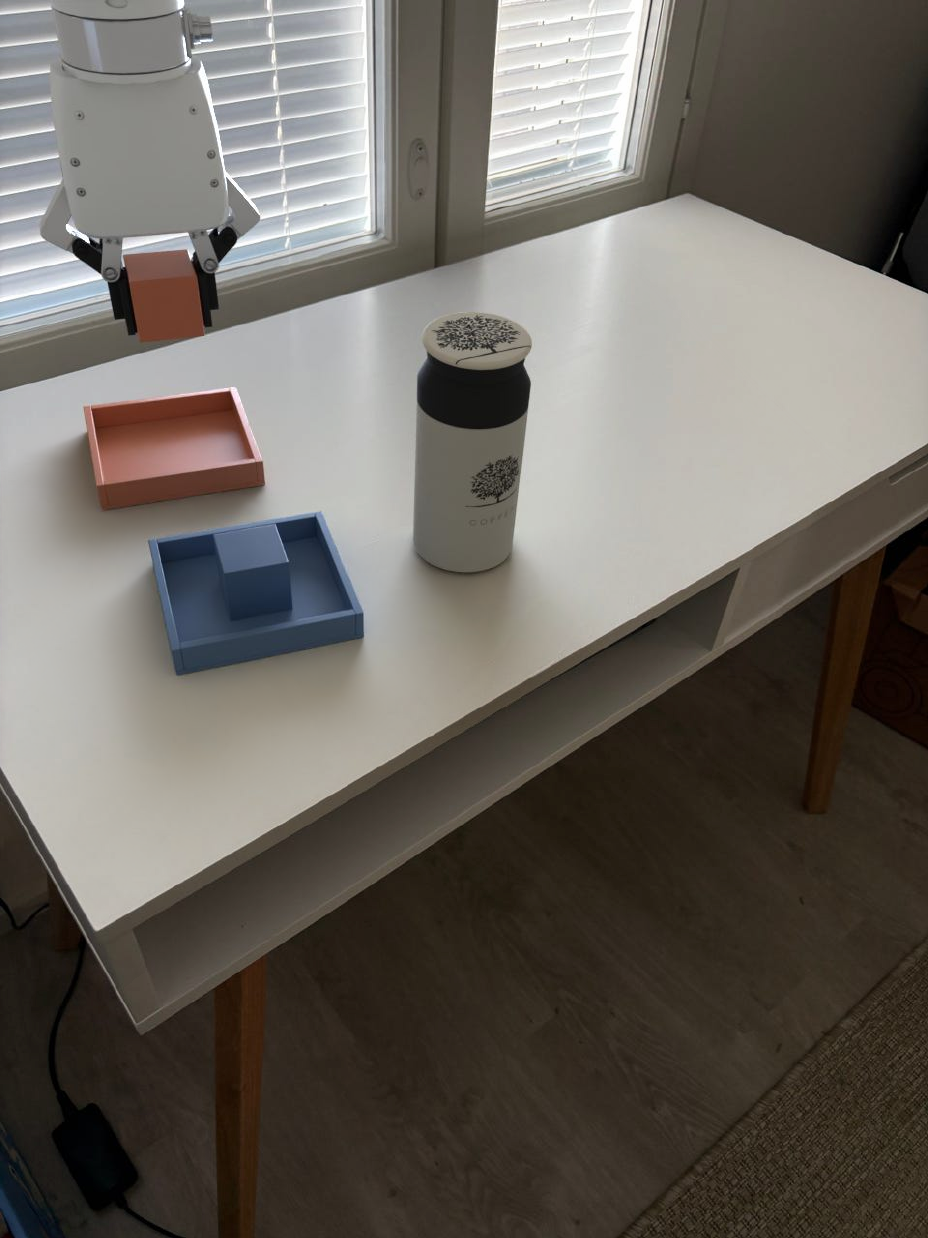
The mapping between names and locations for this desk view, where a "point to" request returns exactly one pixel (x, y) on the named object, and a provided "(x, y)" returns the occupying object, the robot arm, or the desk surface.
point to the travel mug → (469, 439)
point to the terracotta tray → (171, 447)
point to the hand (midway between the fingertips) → (167, 320)
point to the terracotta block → (164, 295)
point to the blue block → (253, 572)
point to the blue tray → (217, 641)
